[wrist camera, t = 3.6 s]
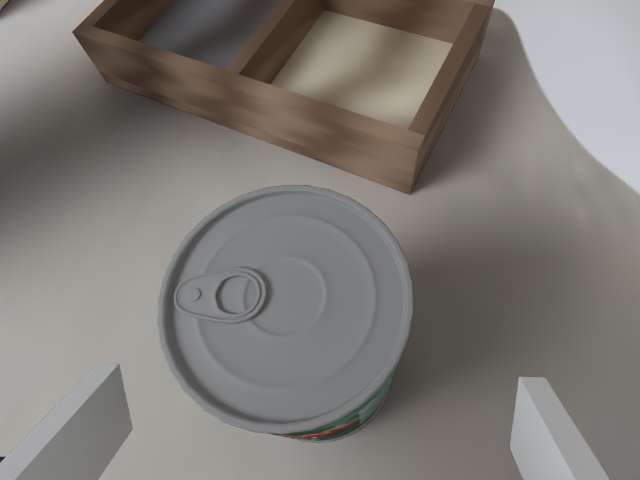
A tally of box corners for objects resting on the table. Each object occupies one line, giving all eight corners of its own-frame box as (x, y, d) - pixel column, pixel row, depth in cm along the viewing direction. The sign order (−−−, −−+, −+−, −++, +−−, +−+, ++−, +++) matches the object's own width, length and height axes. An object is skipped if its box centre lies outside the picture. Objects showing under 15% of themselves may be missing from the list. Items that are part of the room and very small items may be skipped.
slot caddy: (106, 82, 34) (72, 32, 30) (199, -20, 38) (180, -75, 34) (410, 194, 27) (418, 149, 23) (478, 55, 32) (495, -3, 28)
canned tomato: (389, 289, 24) (407, 179, 15) (397, 444, 21) (427, 437, 11) (251, 290, 25) (179, 186, 15) (236, 441, 22) (131, 430, 12)
